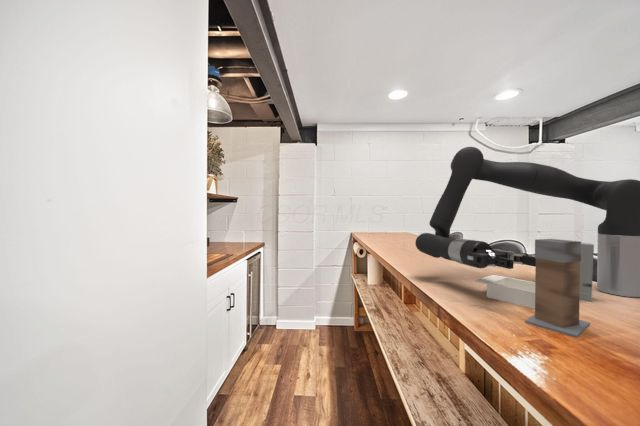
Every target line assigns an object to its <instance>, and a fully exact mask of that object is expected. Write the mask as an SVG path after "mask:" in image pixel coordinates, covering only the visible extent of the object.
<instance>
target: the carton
mask: <svg viewBox="0 0 640 426" xmlns="http://www.w3.org/2000/svg"><path fill="white" fill-rule="evenodd" d="M474 282H475V283H481V284H485V285H486V298H489V299H493V300H497V301H501V302H506V303H509V304H513V305H518V306H521V307H526V308H529V309H533V310H535V281H530V280H524V279H520V278H513V277H508V276H501V275H497V274H492V275H488V276H485V277H482V278H478V279H475V280H474Z"/></svg>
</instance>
